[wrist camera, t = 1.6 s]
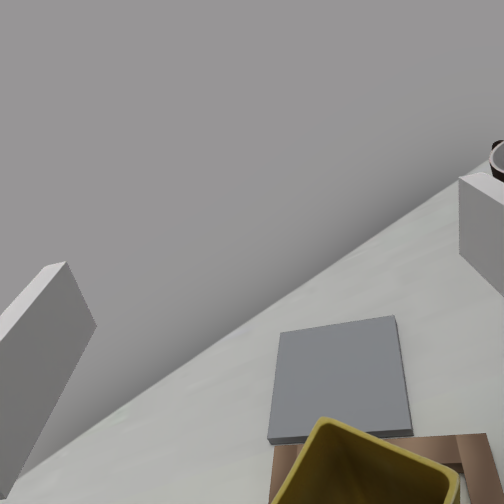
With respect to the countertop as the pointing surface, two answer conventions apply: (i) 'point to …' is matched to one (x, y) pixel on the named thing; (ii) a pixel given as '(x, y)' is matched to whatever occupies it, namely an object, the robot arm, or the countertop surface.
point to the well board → (434, 448)
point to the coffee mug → (497, 160)
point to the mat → (340, 380)
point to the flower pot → (363, 471)
